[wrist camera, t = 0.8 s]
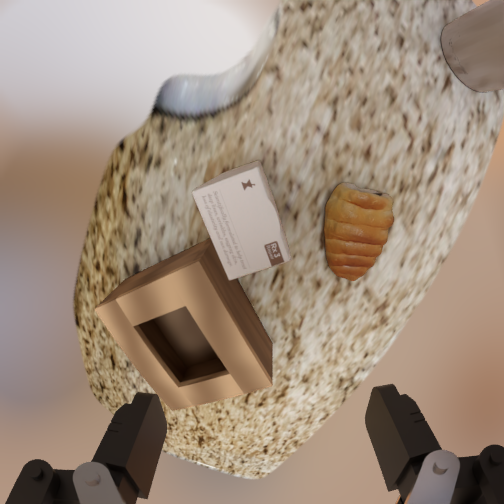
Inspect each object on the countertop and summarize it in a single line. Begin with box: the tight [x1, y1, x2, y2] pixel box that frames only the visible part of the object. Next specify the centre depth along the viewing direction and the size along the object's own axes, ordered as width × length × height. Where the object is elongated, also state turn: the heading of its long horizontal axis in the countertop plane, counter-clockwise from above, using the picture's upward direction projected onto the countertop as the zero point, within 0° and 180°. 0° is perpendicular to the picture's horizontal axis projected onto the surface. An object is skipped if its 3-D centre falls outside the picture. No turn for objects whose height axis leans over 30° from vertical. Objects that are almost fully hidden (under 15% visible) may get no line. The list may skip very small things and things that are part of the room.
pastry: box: [324, 183, 394, 281], centre depth 27 cm, size 9×7×4 cm
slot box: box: [95, 238, 272, 410], centre depth 29 cm, size 12×14×7 cm
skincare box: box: [192, 160, 291, 280], centre depth 23 cm, size 6×4×12 cm
